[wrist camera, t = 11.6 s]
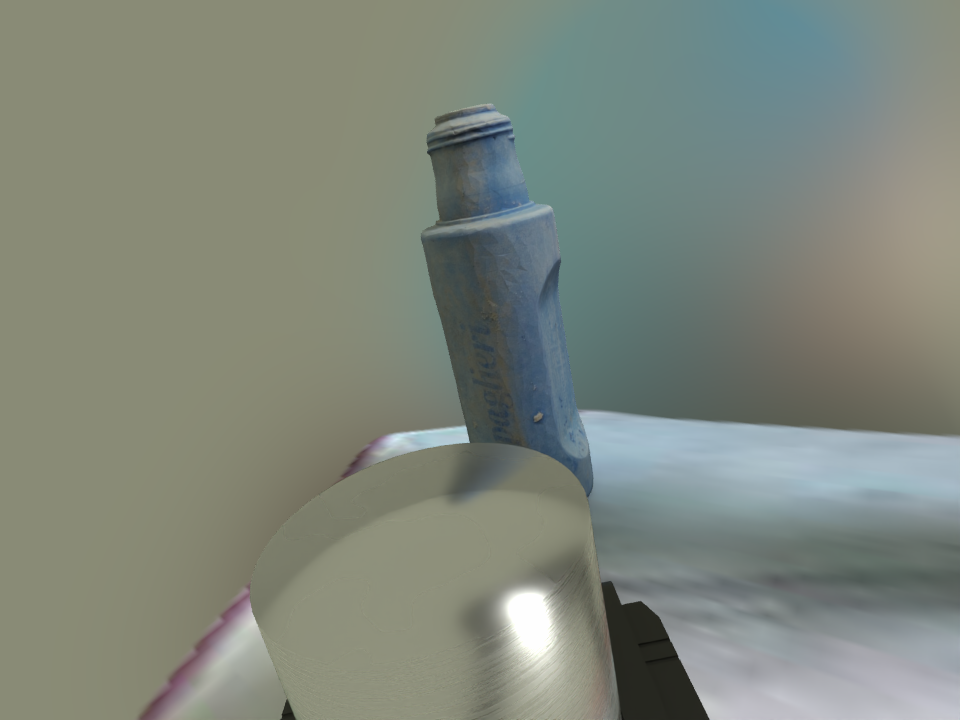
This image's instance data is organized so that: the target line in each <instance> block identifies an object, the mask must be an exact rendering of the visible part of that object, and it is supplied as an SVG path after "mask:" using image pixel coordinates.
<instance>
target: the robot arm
mask: <svg viewBox="0 0 960 720" xmlns="http://www.w3.org/2000/svg"><path fill="white" fill-rule="evenodd" d="M601 586H602V592H603V599H604V605H605V611H606V618H607V624H608V630H609V637H610V643H611V649H612V656H613V662H614V668H615V675H616V681H617V688H618V694H619V700H620V709H621V715H622V720H709V718H708V715H707V713H706V711H705V709H704V707H703V705H702V703H701V701H700V699H699V697H698V695H697V693H696V691H695V689H694V687H693V685H692V683H691V681H690V679H689V677H688V675H687V673H686V671H685V669H684V667H683V665H682V663H681V661H680V660H679V658H678V655H677V653H676V651H675V649H674V646H673V644H672V642H670V639H669V636H668V634H667V632H666V630H665V628H664V626H663V624H662V622H661V620H660V618H659V617H658V616H657V615H656V614H655V613H654V612H653V611H652V610H650V609H649V608H648V607H647V606H646V605H645V604H644V603H643V602H641V601H639V602H634V603H629V604H624V605H621V603H620V600H619V598H618V595H617V593H616V591H615V588H614V586H613V584H612V582H611V581H609V582H604V583H601ZM280 720H296V719H295V716H294V714H293V711H292V709H291V706H290V704H289V701H288V699H287V700H286V703H285V707H284V710H283V713H282V719H280Z"/></svg>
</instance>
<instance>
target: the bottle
mask: <svg viewBox="0 0 960 720" xmlns="http://www.w3.org/2000/svg"><path fill="white" fill-rule="evenodd" d="M435 124H436V126H435V127H434V128H433V129H432V130H431V131H430V132H429V133H428V134H427V145H428V151H427V153H428V154H429V155H430V156H431V160H432V165H433V170H434V174H435V180H436V196H437V208H438V211H439V215H440V220H438V221H436V224H435V225H434V226H431V227H429V228H427V229H425V230H423V232H422V233H421V240H422V244H423V248H424V252H425V257H426V261H427V266H428V272H429V276H430V281H431V286H432V290H433V295H434V298H435V301H436V305H437V308H438V312H439V315H440V318H441V322H442V326H443V330H444V334H445V338H446V342H447V346H448V350H449V355H450V359H451V364H452V368H453V372H454V376H455V379H456V384H457V389H458V393H459V398H460V402H461V407H462V411H463V415H464V419H465V423H466V427H467V432H468V436H469V441H470V443H498V444H508V445H514V446H520V447H524V448H528V449H531V450H535V451H538V452H540V453H543V454H545V455H548V456H550V457H551V458H553V459H555V460H557V461H559V462H560V463H561V464H563V465H564V466H565V467H567V468H568V469H569V470H570V471H571V472H572V473H573V474H574V475H575V476H576V477H577V478H578V480H579V481H580V483H581V485H582V487H583V488H584V490H585V493H586V496H587V497H588V496H589V494H590V492H591V490H592V487H593V472H592V464H591V457H590V450H589V443H588V440H587V437H586V433H585V429H584V427H583V424H582V421H581V419H580V416H579V413H578V410H577V407H576V401H575V395H574V390H573V383H572V377H571V371H570V364H569V356H568V353H567V347H566V338H565V332H564V325H563V320H562V313H561V306H560V302H559V292H558V276H559V268H560V263H561V257H560V250H559V243H558V236H557V229H556V224H555V217H554V211H553V209H552V207H550V206H549V205H541V204H535V203H534V202H533V201H529V198H528V192H527V188H526V184H525V180H524V177H523V174H522V171H521V168H520V165H519V162H518V160H517V156H516V151H515V145H514V139H515V135H514V134H513V128H512V125H511V122H510V118H509V117H507V116H505V115H502V114H500V113H498V112H497V111H496V109H495V107H494V105H492V104H483V105H477V106H472V107H468V108H463V109H459V110H456V111H452V112H448V113H446V114H444V115H442V116H437V117H436V118H435Z"/></svg>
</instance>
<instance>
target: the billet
mask: <svg viewBox="0 0 960 720" xmlns="http://www.w3.org/2000/svg"><path fill="white" fill-rule="evenodd" d="M250 601H251V606H252V612H253V615H254V617H255V620H256V622H257V624H258V627H259V629H260V632H261V634H262V637H263V639H264V642H265V644H266V647H267V649H268V652H269V654H270V657H271V659H272V662H273V664H274V667H275V669H276V672H277V674H278V676H279V679H280V681H281V684H282V686H283V689H284V691H285V694H286V696H287V699H288V701H289V704H290V706H291V709H292V711H293V714H294V716H295V719H296V720H622V715H621V709H620V700H619V694H618V688H617V681H616V675H615V668H614V662H613V656H612V649H611V643H610V637H609V630H608V624H607V618H606V611H605V605H604V599H603V592H602V586H601V579H600V573H599V567H598V560H597V554H596V548H595V541H594V535H593V529H592V522H591V516H590V510H589V503H588V499H587V496H586V493H585V490H584V488H583V487H582V485H581V483H580V481H579V480H578V478H577V477H576V476H575V475H574V474H573V473H572V472H571V471H570V470H569V469H568V468H567V467H565V466H564V465H563V464H561V463H560V462H559V461H557V460H555V459H553V458H551V457H550V456H548V455H545V454H543V453H540V452H538V451H535V450H531V449H528V448H524V447H520V446H514V445H508V444H498V443H462V444H453V445H444V446H438V447H433V448H427V449H423V450H419V451H415V452H411V453H407V454H404V455H400V456H397V457H394V458H391V459H388V460H386V461H383V462H380V463H377V464H375V465H373V466H370V467H368V468H365V469H363V470H361V471H359V472H357V473H355V474H353V475H351V476H349V477H347V478H345V479H343V480H341V481H340V482H338V483H336V484H334V485H333V486H331V487H329V488H328V489H326V490H325V491H324V492H322V493H320V494H319V495H317V496H316V497H314V498H313V499H312V500H310V501H309V502H308V503H307V504H305V505H304V506H303V507H301V508H300V509H299V510H298V511H297V512H296V513H295V514H293V515H292V516H291V517H290V518H289V519H288V520H287V521H286V522H285V523H284V524H283V525H282V526H281V527H280V528H279V530H278V531H277V532H276V533H275V535H274V536H273V537H272V538H271V540H270V541H269V542H268V544H267V546H266V547H265V549H264V550H263V552H262V554H261V556H260V557H259V560H258V562H257V564H256V567H255V569H254V572H253V576H252V580H251V584H250Z"/></svg>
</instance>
